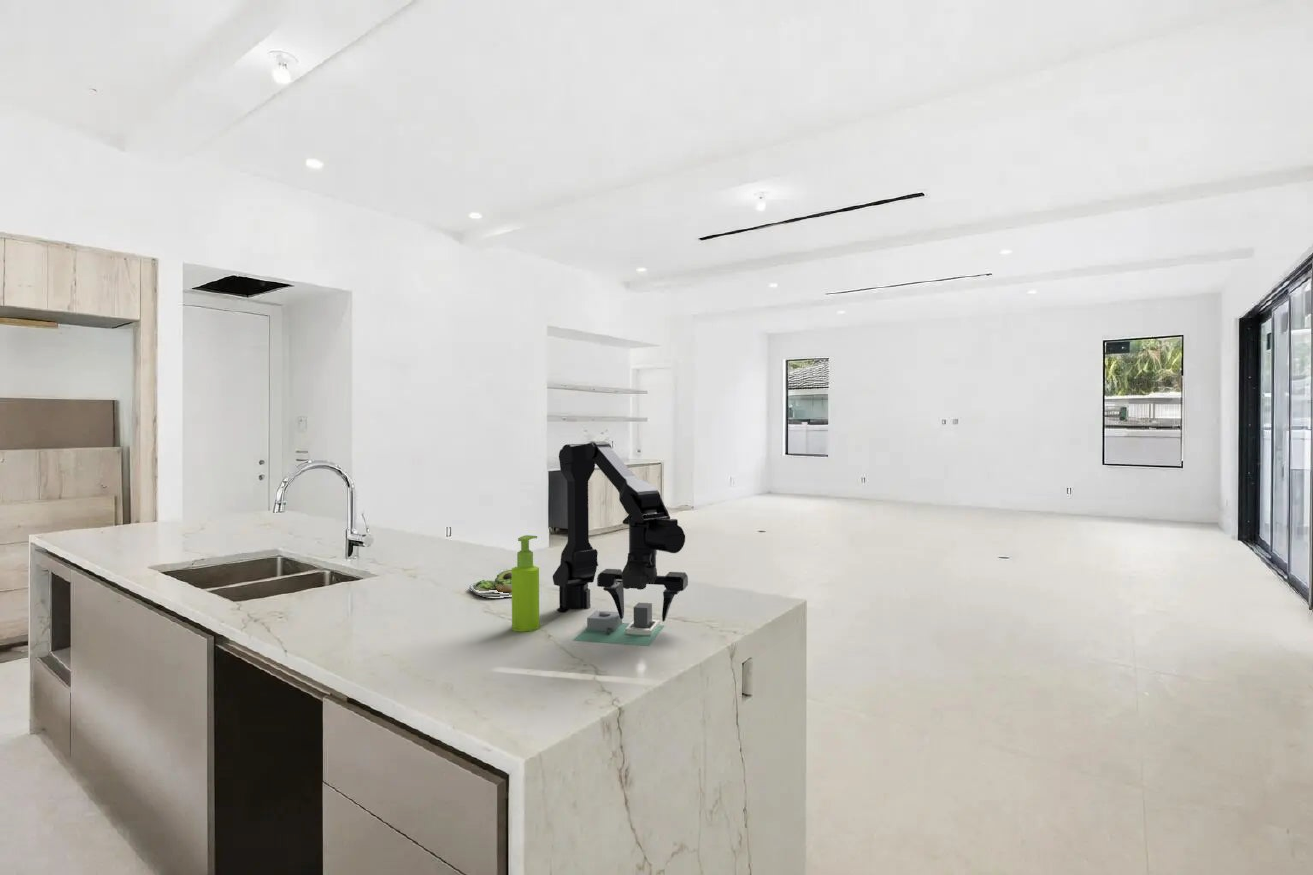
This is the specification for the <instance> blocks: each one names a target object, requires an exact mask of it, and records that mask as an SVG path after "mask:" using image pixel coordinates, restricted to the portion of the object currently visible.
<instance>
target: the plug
mask: <svg viewBox="0 0 1313 875" xmlns="http://www.w3.org/2000/svg"><path fill="white" fill-rule="evenodd" d="M633 620H634V628H646V629H650V628H651V627H652V620H653V603H651V602H650V603H649V602H637V603H636V604H635V605H634V606H633Z"/></svg>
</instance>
